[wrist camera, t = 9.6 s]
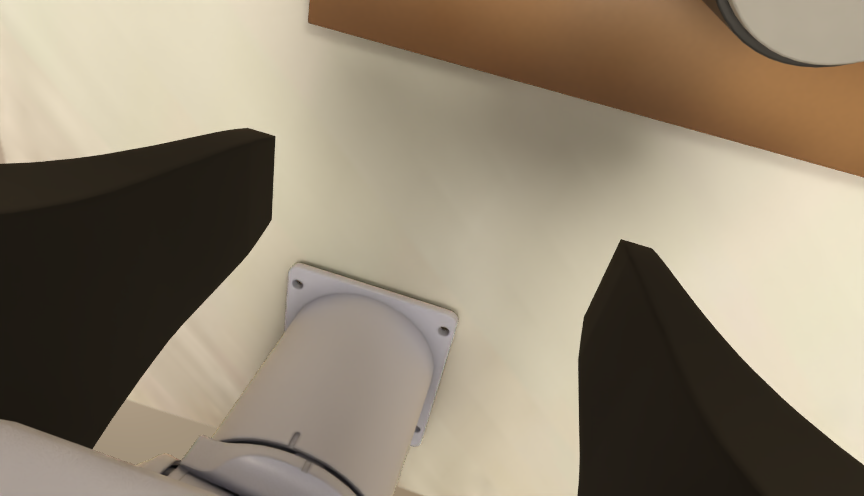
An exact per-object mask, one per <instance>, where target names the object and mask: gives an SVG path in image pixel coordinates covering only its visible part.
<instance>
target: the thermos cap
mask: <svg viewBox="0 0 864 496" xmlns="http://www.w3.org/2000/svg"><path fill="white" fill-rule="evenodd" d="M702 1H703V2H704V3H705V4H706V5H707V6H708V7H709V8H710V9H711V10H712V11H713V12H714V13H715V14H716V15H717V16H718V18H719V19H720V20H721V21H722V22H723V23H724V24H725V25H726V26H727V27H728V28H729V29H730V30H731V31H732V32H733V33H734V34H735V35H736V36H737V37H738V38H739V39H740V40H741V41H742V42H743V43H744V44H746V45H747V46H748V47H750V48H751V49H752V50H754V51H755V52H757V53H759V54H761V55H763V56H765V57H767V58H769V59H772V60H775V61H778V62H781V63H784V64H789V65H794V66H799V67H814V68H820V67H836V66H842V65H848V64H853V63H857V62H863V61H864V0H702Z"/></svg>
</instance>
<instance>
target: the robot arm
mask: <svg viewBox="0 0 864 496" xmlns="http://www.w3.org/2000/svg"><path fill="white" fill-rule="evenodd" d="M274 154H275V136H273V135H269V134H266V133H263V132H259V131H256V130H253V129H249V128H242V129H233V130H227V131H221V132H216V133H211V134H206V135H201V136H196V137H192V138H187V139H182V140H178V141H173V142H168V143H164V144H159V145H154V146H148V147H143V148H137V149H132V150H126V151H121V152H115V153H110V154H104V155H97V156H90V157H82V158H75V159H65V160H55V161H45V162H32V163H11V164H0V496H393V495H394V492H395V489H396V486H397V483H398V480H399V477H400V474H401V471H402V468H403V465H404V462H405V459H406V456H407V453H408V450H409V447H410V446H413V447H415V446H419V445H420V444H421V442H422V439H423V436H424V432H425V429H426V426H427V422H428V419H429V416H430V413H431V409H432V406H433V403H434V400H435V396H436V393H437V390H438V386H439V383H440V380H441V377H442V373H443V370H444V367H445V364H446V360H447V357H448V354H449V350H450V347H451V344H452V341H453V337H454V334H455V331H456V328H457V324H458V316H457V315H456V314H455V313H454V312H453V311H451V310H448V309H445V308H442V307H438V306H435V305H432V304H429V303H426V302H423V301H419V300H416V299H413V298H410V297H407V296H404V295H401V294H397V293H394V292H391V291H388V290H385V289H382V288H378V287H375V286H372V285H369V284H366V283H363V282H360V281H356V280H353V279H350V278H347V277H344V276H341V275H338V274H334V273H331V272H328V271H325V270H322V269H319V268H315V267H312V266H309V265H306V264H303V263H295V264H294V265H292V267H291V268H290V269H289V272H288V286H287V300H286V315H285V329H284V334H283V335H282V337H281V338H280V340H279V341H278V343H277V344H276V346H275V347H274V348H273V350H272V351H271V353H270V354H269V356H268V357H267V358H266V360H265V361H264V363H263V364H262V366H261V367H260V368H259V370H258V371H257V373H256V374H255V376H254V377H253V379H252V380H251V381H250V383H249V384H248V386H247V387H246V389H245V390H244V391H243V393H242V394H241V396H240V397H239V399H238V400H237V401H236V403H235V404H234V406H233V407H232V409H231V410H230V412H229V413H228V414H227V416H226V417H225V419H224V420H223V422H222V423H221V424H220V426H219V427H218V429H217V430H216V432H215V433H214V434H213V436H212V437H211V438H209V437H207V436H205V435H200V436H199V437H198V438H197V440H196V441H195V442H194V444H193V445H192V446H191V448H190V449H189V451H188V452H187V453H186V455H185V457H184V458H183V459H182V460H179V459H177V458H175V457H173V456H171V455H169V454H166V453H163V454H160V455H157V456H155V457H154V458H152V459H150V460H148V461H145V462H142V463H139V464H137V465H134V464H131V463H128V462H126V461H123V460H120V459H117V458H114V457H112V456H109V455H106V454H104V453H101V452H98V451H95V450H92V449H93V447H94V446H95V444H96V442H97V441H98V440H99V438H100V437H101V435H102V433H103V432H104V430H105V429H106V427H107V426H108V424H109V423H110V421H111V420H112V418H113V417H114V415H115V414H116V412H117V411H118V410H119V408H120V407H121V405H122V404H123V403H124V401H125V400H126V398H127V397H128V395H129V394H130V393H131V391H132V390H133V388H134V387H135V385H136V384H137V383H138V381H139V380H140V378H141V377H142V376H143V374H144V373H145V372H146V370H147V369H148V368H149V366H150V365H151V364H152V362H153V361H154V360H155V358H156V357H157V355H158V354H159V353H160V351H161V350H162V349H163V347H164V346H165V345H166V343H167V342H168V341H169V340H170V338H171V337H172V336H173V335H174V334H175V333H176V332H177V330H178V329H179V328H180V327H181V326H182V325H183V323H184V322H185V321H186V320H187V319H188V318H189V317H190V316H191V315H192V314H193V313H194V312H195V311H196V310H197V309H198V308H199V307H200V305H201V304H202V303H203V302H204V301H205V300H206V299H207V298H208V297H209V296H210V295H211V294H212V293H213V292H214V291H215V290H216V289H217V288H218V286H219V285H220V284H221V283H222V282H223V281H224V280H225V279H226V278H227V277H228V276H229V275H230V274H231V273H232V272H233V270H234V269H235V268H236V267H237V266H238V265H239V264H240V263H241V262H242V261H243V260H244V258H245V257H246V256H247V255H248V254H249V253H250V251H251V250H252V248H253V247H254V245H255V244H256V243H257V241H258V240H259V238H260V237H261V235H262V234H263V232H264V231H265V229H266V228H267V226H268V225H269V223H270V221H271V220H272V199H273V176H274ZM296 280H299V281H300V282H301V283H302V284H300V283H298V282H297V281H296ZM441 327H445V328H447V329H448V330H443V329H441ZM578 379H579V439H580V467H579V486H578V496H864V465H863V464H862V463H860V462H859V461H858V460H856V459H855V458H854V457H852V456H851V455H850V454H848V453H847V452H846V451H845V450H843V449H842V448H841V447H839V446H838V445H837V444H836V443H834V442H833V441H832V440H831V439H830V438H828V437H827V436H826V435H825V434H823V433H822V432H821V431H820V430H819V429H817V428H816V427H815V426H814V425H813V424H811V423H810V422H809V421H808V420H807V419H805V418H804V417H803V416H802V415H801V414H799V413H798V412H797V411H796V410H795V409H794V408H793V407H792V406H790V405H789V404H788V403H787V402H786V401H785V400H784V399H783V398H782V397H780V396H779V395H778V394H777V393H776V392H775V391H774V390H773V389H772V388H771V387H770V386H769V385H768V384H767V383H766V382H765V381H764V380H763V379H762V378H761V377H760V376H759V375H758V374H757V373H756V372H755V371H753V369H752V368H751V367H750V366H749V365H748V364H747V363H746V362H745V361H744V360H743V359H742V358H741V357H740V356H739V355H738V354H737V353H736V351H735V350H734V349H733V348H732V347H731V346H730V345H729V344H728V342H727V341H726V340H725V339H724V338H723V337H722V336H721V334H720V333H719V332H718V331H717V330H716V329H715V327H714V326H713V325H712V324H711V323H710V321H709V320H708V319H707V318H706V317H705V315H704V314H703V313H702V312H701V310H700V309H699V308H698V307H697V305H696V304H695V303H694V301H693V300H692V299H691V298H690V296H689V295H688V294H687V292H686V291H685V290H684V288H683V287H682V286H681V284H680V283H679V282H678V280H677V279H676V278H675V276H674V275H673V274H672V272H671V271H670V270H669V268H668V267H667V266H666V264H665V263H664V262H663V261H662V259H661V258H660V257H659V256H658V254H657V253H656V252H655V251H654V250H653V249H652V248H649V247H645V246H642V245H638V244H635V243H632V242H628V241H625V240H622V239H621V240H620V242H619V244H618V247H617V249H616V251H615V253H614V255H613V257H612V259H611V261H610V263H609V266H608V268H607V270H606V272H605V274H604V276H603V278H602V280H601V282H600V285H599V287H598V289H597V291H596V293H595V295H594V297H593V299H592V301H591V303H590V306H589V308H588V310H587V312H586V314H585V316H584V321H583V328H582V334H581V342H580V350H579V358H578Z"/></svg>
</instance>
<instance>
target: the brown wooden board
mask: <svg viewBox="0 0 864 496" xmlns="http://www.w3.org/2000/svg"><path fill="white" fill-rule="evenodd" d="M308 23H310V24H314V25H318V26H321V27H325V28H328V29H332V30H336V31H339V32H343V33H346V34H350V35H354V36H357V37H361V38H364V39H368V40H372V41H375V42H379V43H382V44H386V45H390V46H393V47H397V48H400V49H404V50H408V51H411V52H415V53H418V54H422V55H426V56H429V57H433V58H436V59H440V60H443V61H447V62H451V63H454V64H458V65H461V66H465V67H469V68H472V69H476V70H479V71H483V72H487V73H490V74H494V75H497V76H501V77H505V78H508V79H512V80H515V81H519V82H523V83H526V84H530V85H533V86H537V87H541V88H544V89H548V90H551V91H555V92H559V93H562V94H566V95H569V96H573V97H577V98H580V99H584V100H587V101H591V102H594V103H598V104H602V105H605V106H609V107H612V108H616V109H620V110H623V111H627V112H630V113H634V114H638V115H641V116H645V117H648V118H652V119H656V120H659V121H663V122H666V123H670V124H674V125H677V126H681V127H684V128H688V129H692V130H695V131H699V132H702V133H706V134H710V135H713V136H717V137H720V138H724V139H728V140H731V141H735V142H738V143H742V144H745V145H749V146H753V147H756V148H760V149H763V150H767V151H771V152H774V153H778V154H781V155H785V156H789V157H792V158H796V159H799V160H803V161H807V162H810V163H814V164H817V165H821V166H825V167H828V168H832V169H835V170H839V171H843V172H846V173H850V174H853V175H857V176H861V177H864V61H863V62H857V63H853V64H848V65H842V66H836V67H820V68H814V67H799V66H794V65H789V64H784V63H781V62H778V61H775V60H772V59H769V58H767V57H765V56H763V55H761V54H759V53H757V52H755V51H754V50H752V49H751V48H750V47H748V46H747V45H746V44H744V43H743V42H742V41H741V40H740V39H739V38H738V37H737V36H736V35H735V34H734V33H733V32H732V31H731V30H730V29H729V28H728V27H727V26H726V25H725V24H724V23H723V22H722V21H721V20H720V19H719V18H718V16H717V15H716V14H715V13H714V12H713V11H712V10H711V9H710V8H709V7H708V6H707V5H706V4H705V3H704V2H703V1H702V0H310V2H309V16H308Z"/></svg>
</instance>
